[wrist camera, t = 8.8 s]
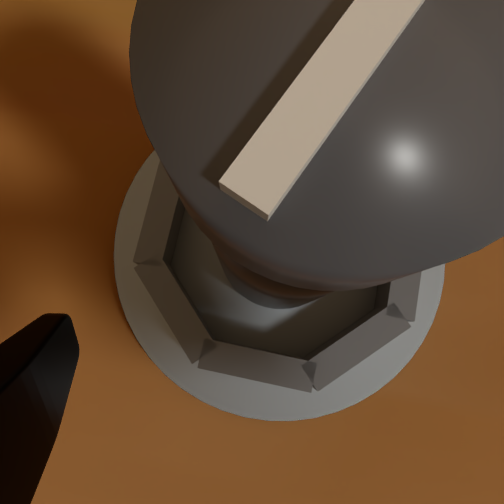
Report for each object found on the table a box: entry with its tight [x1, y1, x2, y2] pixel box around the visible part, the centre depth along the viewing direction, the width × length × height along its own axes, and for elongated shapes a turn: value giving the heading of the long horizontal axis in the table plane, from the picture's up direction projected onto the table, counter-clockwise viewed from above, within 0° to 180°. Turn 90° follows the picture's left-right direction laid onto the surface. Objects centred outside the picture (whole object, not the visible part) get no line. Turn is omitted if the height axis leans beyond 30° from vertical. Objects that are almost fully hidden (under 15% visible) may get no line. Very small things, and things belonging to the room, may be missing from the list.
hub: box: [114, 150, 445, 421], centre depth 16 cm, size 13×13×2 cm
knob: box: [129, 0, 504, 309], centre depth 11 cm, size 5×5×12 cm
